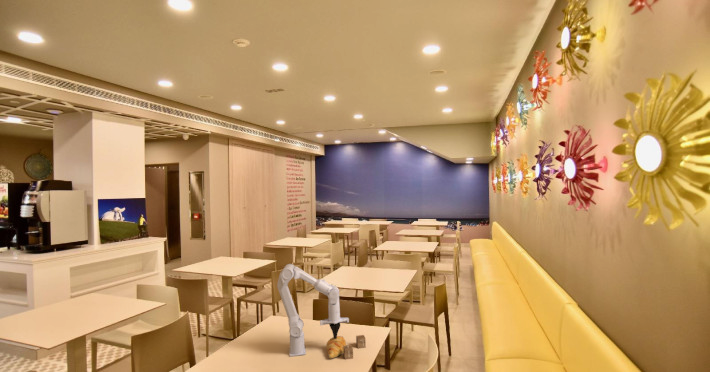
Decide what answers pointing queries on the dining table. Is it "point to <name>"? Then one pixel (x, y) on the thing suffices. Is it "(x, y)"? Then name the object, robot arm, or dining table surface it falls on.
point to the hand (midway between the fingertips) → (335, 337)
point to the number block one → (348, 352)
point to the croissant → (335, 346)
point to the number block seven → (360, 341)
